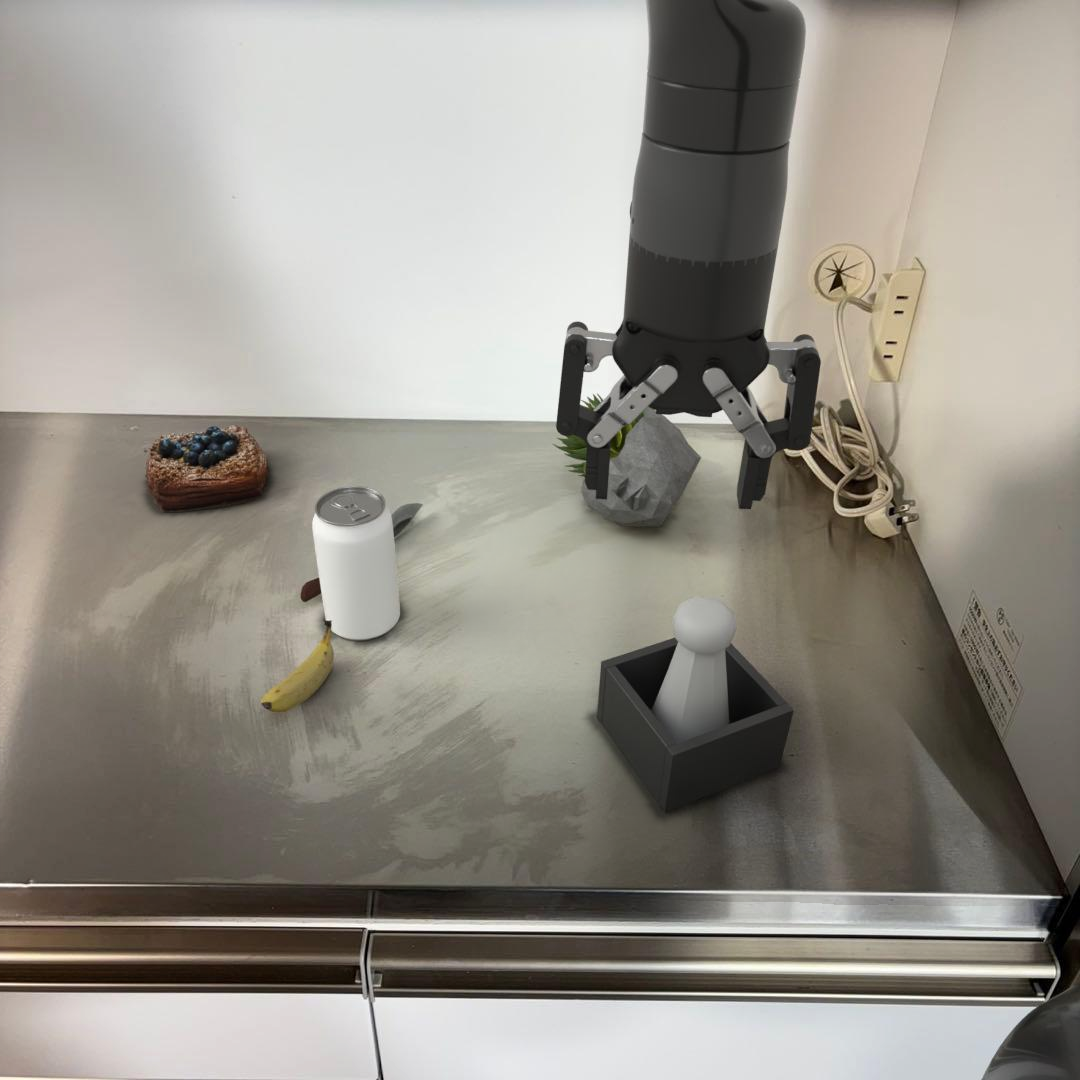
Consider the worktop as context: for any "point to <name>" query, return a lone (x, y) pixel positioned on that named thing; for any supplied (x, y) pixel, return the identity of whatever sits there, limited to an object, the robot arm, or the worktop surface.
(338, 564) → the can
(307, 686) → the banana
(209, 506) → the pastry
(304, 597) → the knife
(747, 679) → the holder
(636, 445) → the potted plant
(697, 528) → the worktop surface
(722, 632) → the salt shaker
